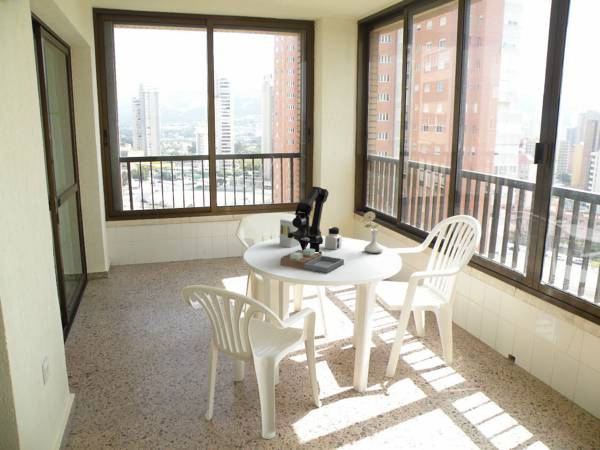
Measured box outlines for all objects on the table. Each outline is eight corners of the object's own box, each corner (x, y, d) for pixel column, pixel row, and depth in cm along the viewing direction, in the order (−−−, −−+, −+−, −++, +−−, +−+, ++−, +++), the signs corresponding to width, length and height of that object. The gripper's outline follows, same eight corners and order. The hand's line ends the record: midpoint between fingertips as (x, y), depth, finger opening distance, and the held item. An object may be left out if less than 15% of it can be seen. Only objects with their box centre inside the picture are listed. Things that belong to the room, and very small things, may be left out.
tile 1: (294, 256, 291) (294, 251, 291) (302, 257, 289) (302, 253, 288) (290, 258, 287) (290, 253, 286) (298, 259, 285) (298, 255, 284)
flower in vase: (382, 249, 324) (384, 210, 319) (383, 254, 313) (385, 213, 308) (361, 249, 325) (363, 209, 320) (361, 253, 314) (363, 212, 309)
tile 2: (307, 252, 300) (307, 248, 299) (315, 253, 297) (315, 249, 297) (302, 254, 295) (303, 250, 295) (310, 255, 293) (310, 251, 292)
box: (321, 260, 298) (321, 255, 298) (343, 264, 292) (344, 259, 291) (304, 269, 281) (304, 263, 281) (327, 273, 275) (327, 268, 274)
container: (341, 247, 328) (342, 227, 325) (335, 250, 321) (336, 229, 318) (330, 245, 332) (331, 225, 329) (324, 248, 325) (325, 227, 322)
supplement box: (279, 245, 331) (279, 218, 327) (289, 242, 338) (289, 216, 334) (290, 247, 325) (290, 221, 321) (300, 245, 332) (300, 219, 328)
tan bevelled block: (298, 256, 306) (298, 249, 305) (321, 260, 298) (321, 253, 297) (280, 264, 289) (280, 257, 288) (304, 269, 281) (304, 262, 280)
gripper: (282, 224, 292) (282, 251, 296) (311, 229, 283) (310, 257, 286) (292, 221, 302) (292, 247, 305) (321, 225, 293) (320, 252, 296)
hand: (303, 251), depth 298 cm, fingers closed
